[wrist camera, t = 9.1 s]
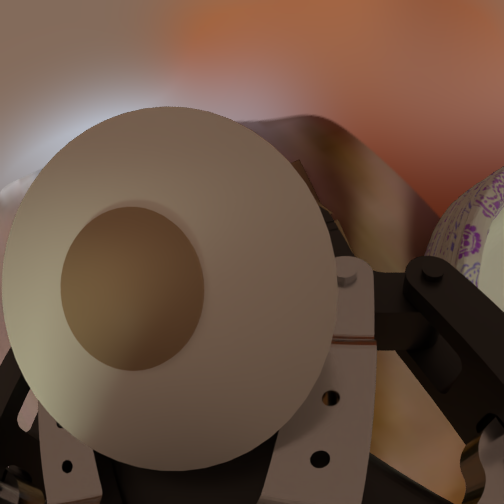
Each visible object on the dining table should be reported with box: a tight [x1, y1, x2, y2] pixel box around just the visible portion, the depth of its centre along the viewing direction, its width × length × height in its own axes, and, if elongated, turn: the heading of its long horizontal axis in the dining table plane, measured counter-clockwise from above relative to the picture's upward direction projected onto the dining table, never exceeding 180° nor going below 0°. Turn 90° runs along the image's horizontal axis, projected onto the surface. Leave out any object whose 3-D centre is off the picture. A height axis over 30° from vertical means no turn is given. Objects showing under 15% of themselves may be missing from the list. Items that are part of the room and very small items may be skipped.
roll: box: [2, 107, 338, 471], centre depth 9 cm, size 5×5×12 cm
